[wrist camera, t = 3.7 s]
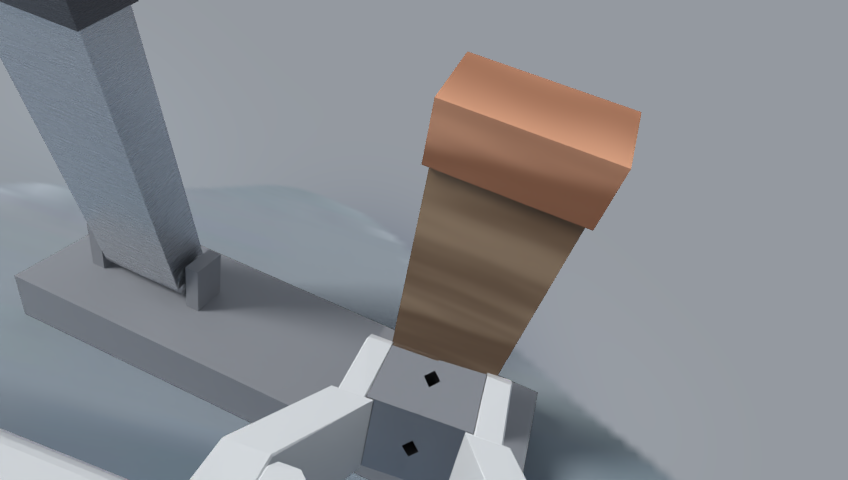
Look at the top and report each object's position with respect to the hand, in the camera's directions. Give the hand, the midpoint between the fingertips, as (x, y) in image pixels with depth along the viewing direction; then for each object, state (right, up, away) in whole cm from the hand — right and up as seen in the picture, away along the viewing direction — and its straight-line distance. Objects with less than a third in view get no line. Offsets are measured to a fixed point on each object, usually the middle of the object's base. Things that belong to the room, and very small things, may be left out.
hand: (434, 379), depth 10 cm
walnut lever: (0, -6, +18) cm, 19 cm away
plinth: (-9, -5, +21) cm, 24 cm away
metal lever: (-16, +1, +21) cm, 27 cm away
